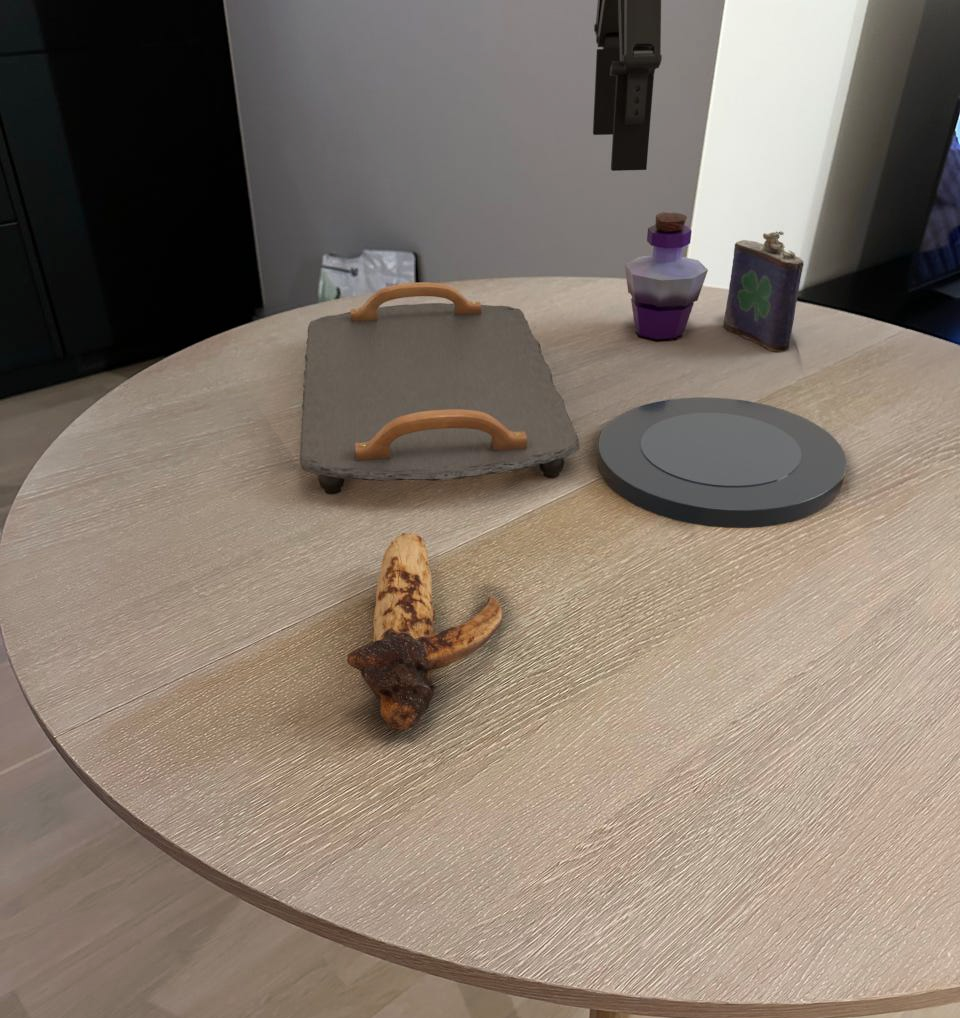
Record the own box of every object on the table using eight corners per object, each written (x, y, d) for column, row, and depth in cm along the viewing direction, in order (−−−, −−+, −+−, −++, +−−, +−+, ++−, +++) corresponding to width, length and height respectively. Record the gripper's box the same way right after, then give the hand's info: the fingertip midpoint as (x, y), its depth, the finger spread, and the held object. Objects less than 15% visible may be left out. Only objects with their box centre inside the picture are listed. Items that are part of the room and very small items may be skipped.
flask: (717, 325, 105) (732, 222, 99) (738, 321, 106) (755, 218, 100) (775, 354, 99) (795, 246, 92) (797, 348, 100) (818, 241, 93)
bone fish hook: (508, 743, 55) (498, 563, 69) (512, 682, 52) (500, 507, 66) (346, 743, 55) (368, 562, 69) (341, 682, 52) (364, 506, 66)
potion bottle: (665, 312, 109) (677, 199, 101) (716, 336, 103) (733, 218, 95) (603, 327, 105) (610, 211, 98) (652, 353, 99) (664, 231, 92)
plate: (821, 417, 87) (825, 399, 86) (863, 534, 71) (869, 515, 70) (599, 409, 89) (600, 392, 88) (593, 521, 74) (595, 502, 72)
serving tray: (310, 335, 105) (303, 277, 101) (519, 323, 107) (520, 265, 103) (300, 517, 75) (289, 445, 71) (592, 495, 77) (597, 424, 73)
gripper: (569, -172, 77) (561, 122, 91) (605, -190, 58) (588, 188, 71) (662, -174, 77) (640, 120, 91) (729, -194, 58) (689, 185, 71)
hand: (617, 151), depth 81 cm, fingers open, 13 cm apart
